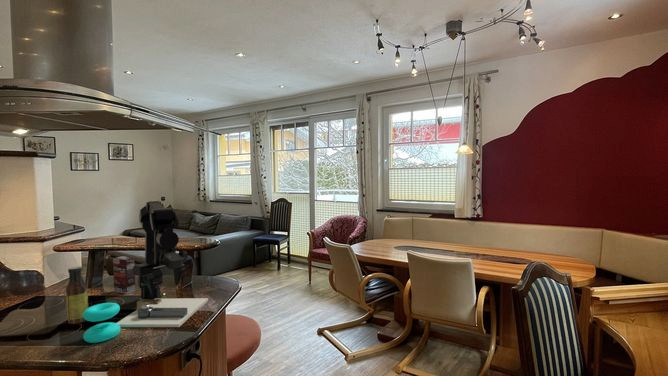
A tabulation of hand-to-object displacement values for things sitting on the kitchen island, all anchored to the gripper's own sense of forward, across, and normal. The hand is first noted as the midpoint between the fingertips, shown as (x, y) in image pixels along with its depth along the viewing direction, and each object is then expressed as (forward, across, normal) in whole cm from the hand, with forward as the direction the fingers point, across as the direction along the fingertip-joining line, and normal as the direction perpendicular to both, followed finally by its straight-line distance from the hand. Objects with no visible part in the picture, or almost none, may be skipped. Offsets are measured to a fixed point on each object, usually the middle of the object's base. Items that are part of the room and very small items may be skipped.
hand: (164, 288), depth 115 cm
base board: (+13, +7, +12) cm, 19 cm away
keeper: (+12, +3, +17) cm, 21 cm away
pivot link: (+12, +3, +7) cm, 14 cm away
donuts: (+13, -15, +10) cm, 23 cm away
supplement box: (+13, +11, +52) cm, 55 cm away
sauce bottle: (+13, -14, +32) cm, 38 cm away
